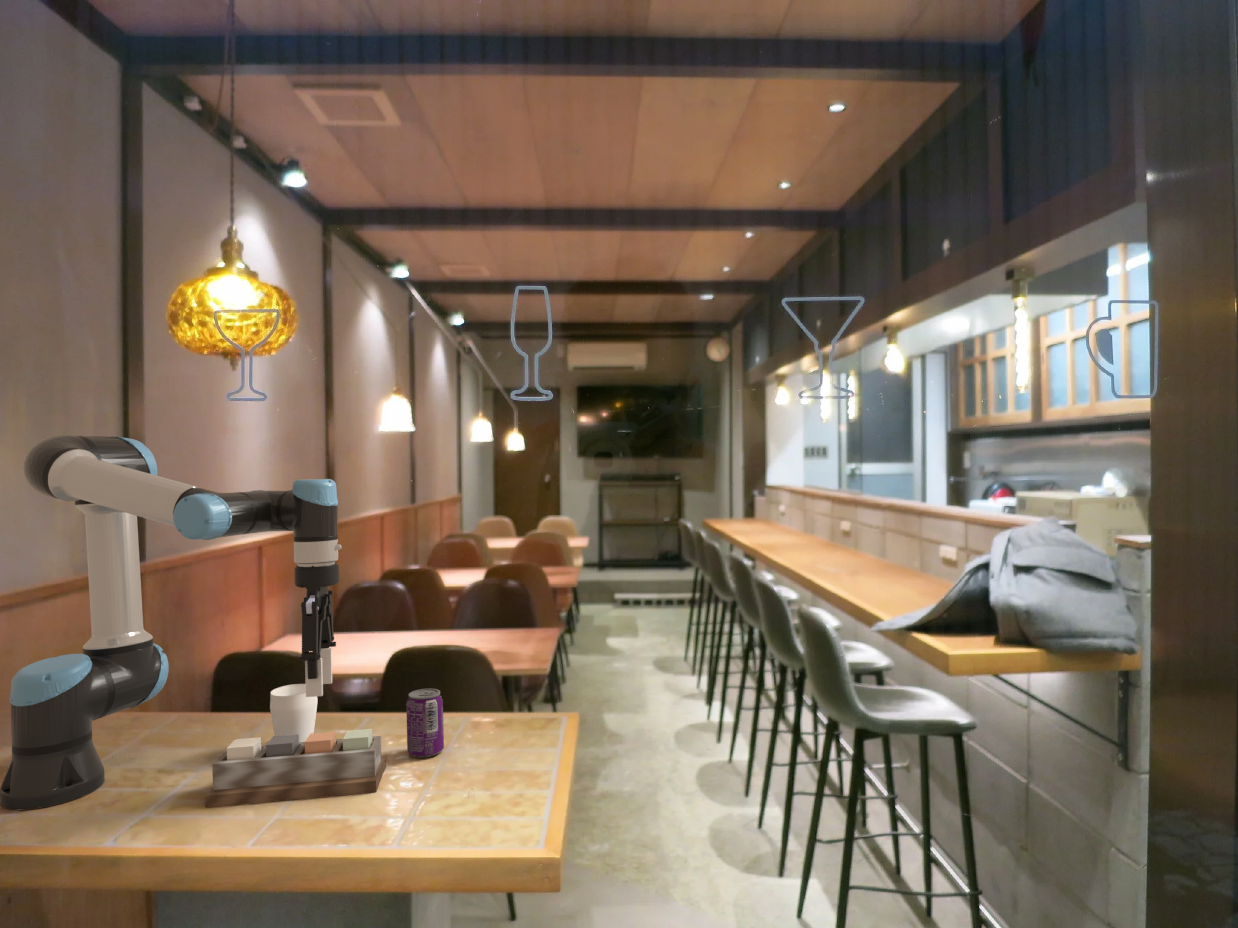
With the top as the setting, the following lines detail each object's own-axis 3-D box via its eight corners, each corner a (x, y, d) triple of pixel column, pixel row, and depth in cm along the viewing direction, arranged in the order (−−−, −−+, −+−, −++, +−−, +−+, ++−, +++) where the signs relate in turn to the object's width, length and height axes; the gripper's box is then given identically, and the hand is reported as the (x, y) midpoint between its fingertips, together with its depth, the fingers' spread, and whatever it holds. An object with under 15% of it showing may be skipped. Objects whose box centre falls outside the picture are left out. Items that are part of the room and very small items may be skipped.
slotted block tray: (205, 807, 128) (204, 769, 128) (229, 778, 140) (229, 743, 140) (376, 791, 133) (375, 754, 133) (386, 765, 144) (385, 731, 144)
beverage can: (448, 746, 154) (447, 687, 154) (437, 760, 147) (435, 698, 147) (415, 746, 154) (413, 687, 154) (401, 759, 147) (400, 698, 147)
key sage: (343, 755, 135) (342, 738, 135) (347, 746, 140) (347, 730, 140) (368, 753, 136) (368, 736, 136) (372, 744, 140) (372, 728, 140)
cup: (307, 755, 150) (305, 695, 150) (262, 756, 151) (261, 696, 151) (325, 739, 159) (324, 682, 159) (283, 740, 160) (282, 683, 160)
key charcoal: (266, 761, 133) (266, 744, 133) (273, 752, 138) (273, 736, 138) (292, 759, 134) (292, 742, 134) (298, 750, 138) (298, 734, 138)
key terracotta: (305, 758, 134) (304, 741, 134) (310, 749, 139) (310, 733, 139) (330, 756, 135) (330, 739, 135) (336, 747, 139) (335, 731, 139)
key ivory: (227, 765, 132) (226, 747, 132) (235, 755, 136) (235, 739, 137) (253, 762, 133) (253, 745, 133) (261, 753, 137) (261, 737, 137)
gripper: (326, 569, 128) (329, 704, 128) (348, 556, 148) (351, 673, 147) (279, 571, 126) (282, 708, 126) (308, 558, 146) (311, 676, 146)
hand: (319, 689), depth 137 cm, fingers open, 7 cm apart
